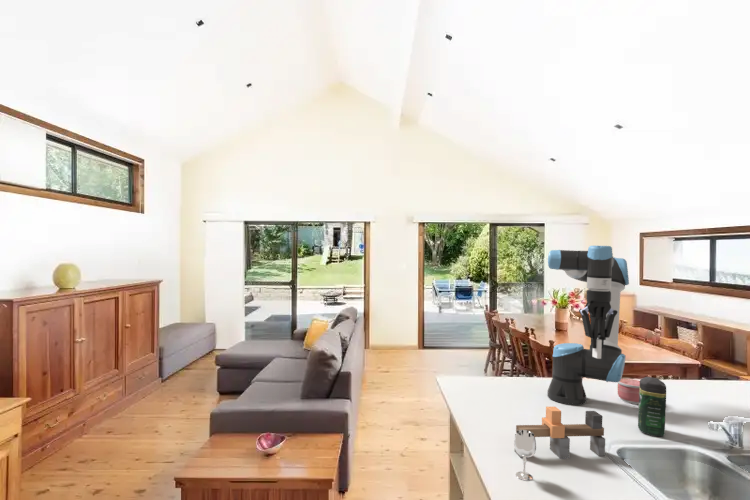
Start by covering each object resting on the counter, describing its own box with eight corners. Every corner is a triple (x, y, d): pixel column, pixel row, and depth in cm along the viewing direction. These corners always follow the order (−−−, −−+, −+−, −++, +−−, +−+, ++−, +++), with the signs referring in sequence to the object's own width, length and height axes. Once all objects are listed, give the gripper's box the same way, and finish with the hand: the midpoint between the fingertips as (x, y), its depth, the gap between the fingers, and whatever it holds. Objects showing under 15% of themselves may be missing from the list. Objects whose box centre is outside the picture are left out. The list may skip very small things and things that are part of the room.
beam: (513, 449, 132) (514, 410, 132) (594, 448, 135) (595, 409, 135) (521, 459, 126) (523, 418, 126) (606, 457, 129) (607, 417, 129)
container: (629, 395, 185) (629, 377, 185) (651, 404, 176) (651, 385, 175) (610, 397, 182) (611, 379, 182) (632, 406, 172) (632, 387, 172)
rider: (541, 429, 133) (542, 404, 133) (553, 428, 134) (554, 404, 134) (552, 438, 127) (552, 413, 127) (564, 438, 127) (565, 412, 127)
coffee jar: (666, 439, 142) (668, 384, 142) (639, 434, 146) (640, 380, 146) (662, 428, 151) (664, 377, 151) (636, 423, 155) (638, 373, 155)
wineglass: (509, 470, 120) (511, 428, 120) (529, 470, 120) (530, 428, 120) (518, 482, 114) (519, 438, 114) (538, 481, 114) (540, 437, 114)
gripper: (587, 290, 142) (585, 360, 142) (623, 291, 143) (621, 360, 143) (574, 288, 149) (572, 354, 149) (609, 288, 150) (607, 354, 151)
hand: (596, 357), depth 146 cm, fingers closed
